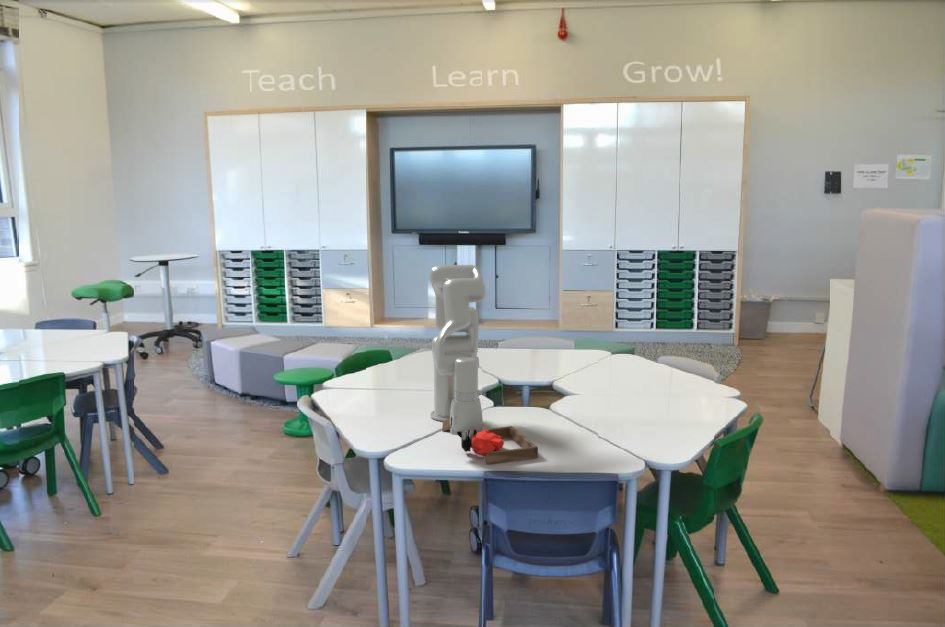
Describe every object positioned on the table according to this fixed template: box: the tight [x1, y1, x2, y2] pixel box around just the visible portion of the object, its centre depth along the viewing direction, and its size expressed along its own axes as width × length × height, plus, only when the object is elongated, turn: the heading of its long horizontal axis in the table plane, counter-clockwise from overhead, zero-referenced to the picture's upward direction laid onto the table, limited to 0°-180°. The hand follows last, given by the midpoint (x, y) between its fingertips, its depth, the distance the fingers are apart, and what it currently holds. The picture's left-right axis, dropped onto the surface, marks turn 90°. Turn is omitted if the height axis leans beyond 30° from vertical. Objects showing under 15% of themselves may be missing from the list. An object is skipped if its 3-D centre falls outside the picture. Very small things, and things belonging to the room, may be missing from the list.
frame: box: [465, 425, 539, 465], centre depth 231 cm, size 22×17×4 cm
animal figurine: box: [470, 430, 505, 457], centre depth 229 cm, size 12×15×5 cm
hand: (466, 450), depth 227 cm, fingers closed
